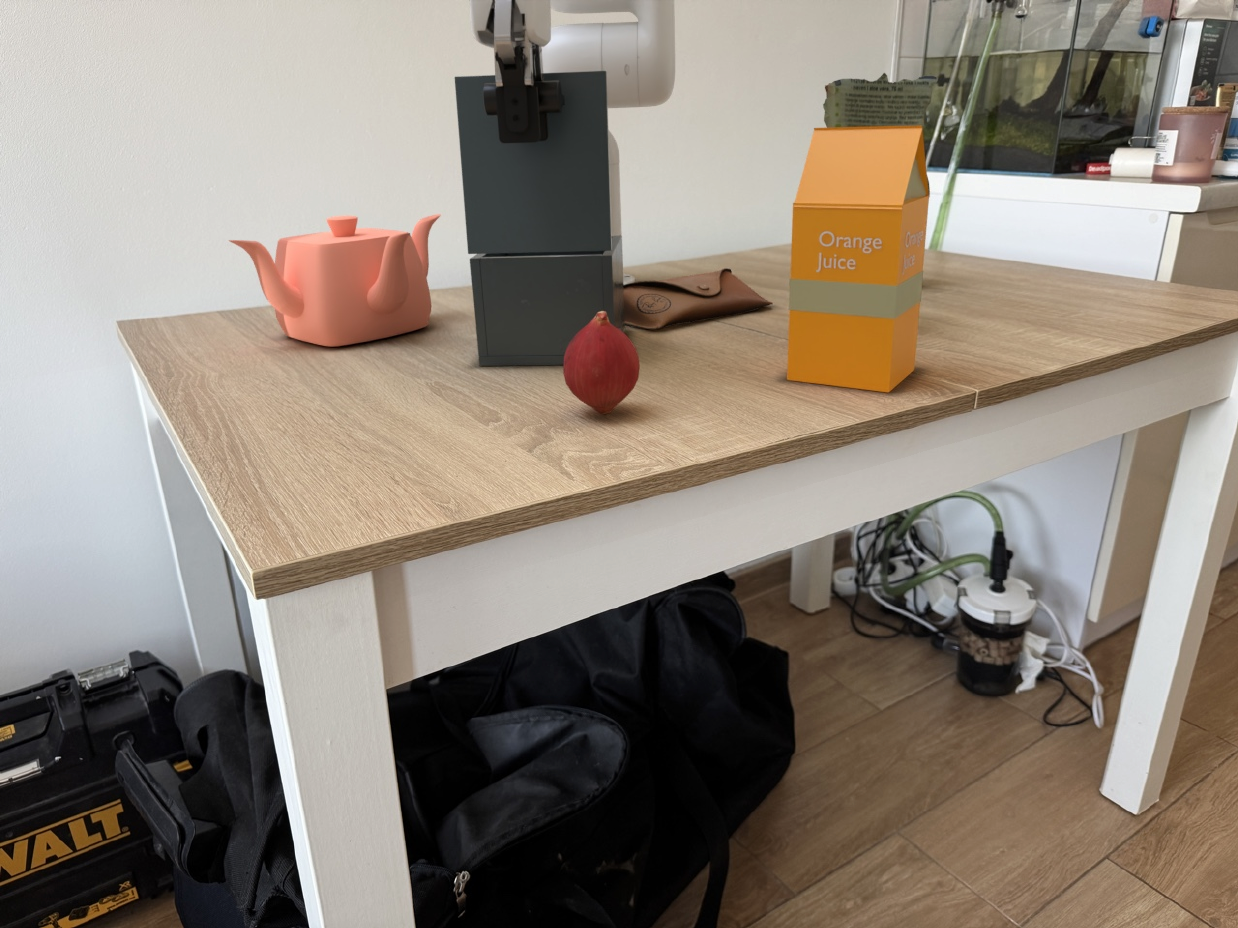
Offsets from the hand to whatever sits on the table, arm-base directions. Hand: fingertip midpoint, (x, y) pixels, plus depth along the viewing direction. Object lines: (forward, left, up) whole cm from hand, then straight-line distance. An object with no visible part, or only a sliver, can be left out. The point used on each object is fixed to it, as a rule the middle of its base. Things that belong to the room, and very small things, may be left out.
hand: (524, 139), depth 74 cm
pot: (-29, -1, -20) cm, 36 cm away
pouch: (+1, +54, -20) cm, 58 cm away
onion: (+12, -4, -20) cm, 24 cm away
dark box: (-7, +8, -20) cm, 23 cm away
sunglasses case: (-6, +28, -20) cm, 35 cm away
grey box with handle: (-3, +4, -2) cm, 6 cm away
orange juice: (+21, +17, -20) cm, 34 cm away
